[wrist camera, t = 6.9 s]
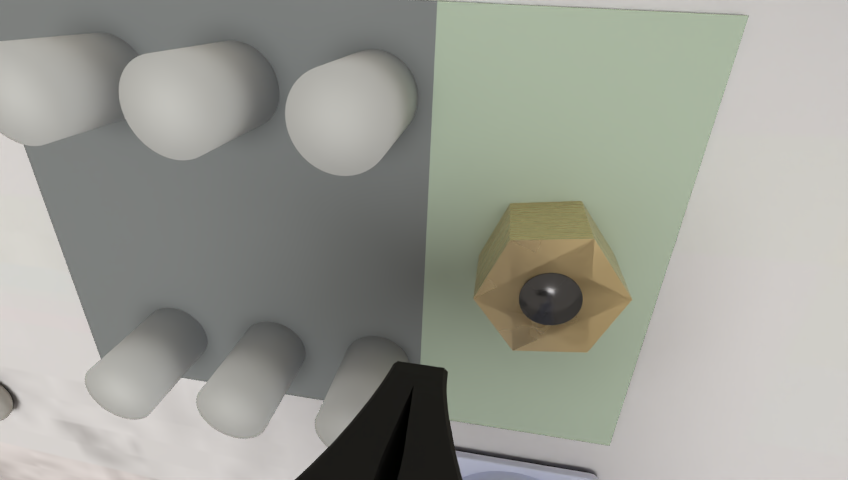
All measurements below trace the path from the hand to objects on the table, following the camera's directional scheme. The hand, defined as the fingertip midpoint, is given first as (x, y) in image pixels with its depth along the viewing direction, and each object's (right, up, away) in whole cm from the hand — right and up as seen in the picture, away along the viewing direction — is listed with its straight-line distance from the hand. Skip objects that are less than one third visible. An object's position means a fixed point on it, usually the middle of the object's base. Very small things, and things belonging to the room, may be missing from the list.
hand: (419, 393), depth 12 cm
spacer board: (-4, +4, +7) cm, 9 cm away
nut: (+5, +3, +6) cm, 8 cm away
